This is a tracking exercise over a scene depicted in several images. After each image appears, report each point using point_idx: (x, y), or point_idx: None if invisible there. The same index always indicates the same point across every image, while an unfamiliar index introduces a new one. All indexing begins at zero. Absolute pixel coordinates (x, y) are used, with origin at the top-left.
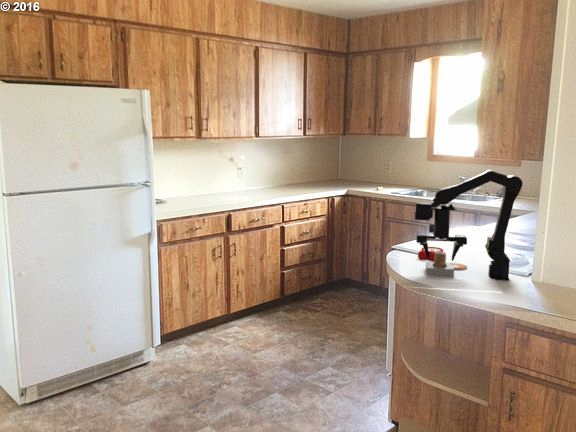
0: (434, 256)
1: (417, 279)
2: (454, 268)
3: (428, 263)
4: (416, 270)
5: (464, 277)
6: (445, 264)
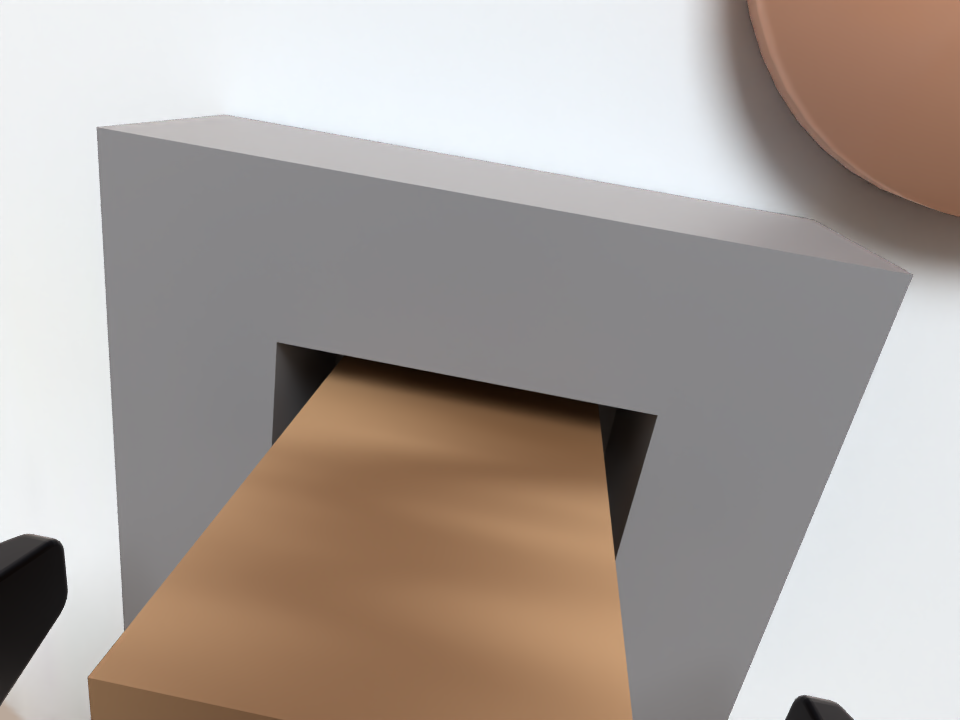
0: (213, 538)
1: (80, 680)
2: (943, 187)
3: (166, 352)
4: (30, 157)
5: (885, 632)
6: (640, 409)
